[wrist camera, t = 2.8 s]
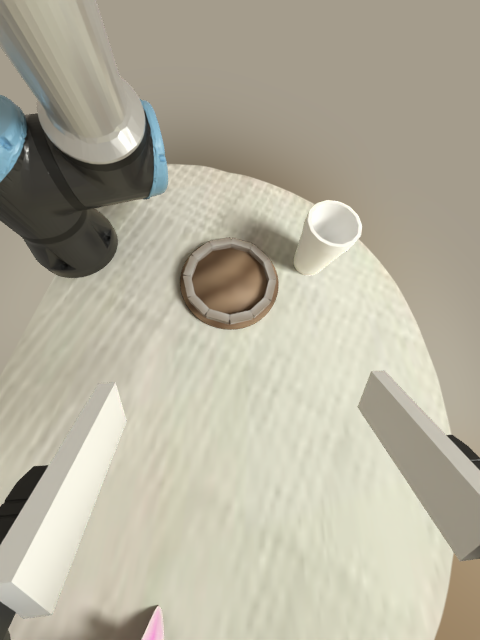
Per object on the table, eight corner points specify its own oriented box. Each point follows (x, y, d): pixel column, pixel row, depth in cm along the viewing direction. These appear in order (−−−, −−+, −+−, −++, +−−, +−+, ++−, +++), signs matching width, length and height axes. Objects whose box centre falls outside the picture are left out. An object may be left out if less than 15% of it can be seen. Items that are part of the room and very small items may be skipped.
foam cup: (291, 239, 53) (313, 193, 41) (330, 250, 53) (364, 208, 41) (282, 275, 50) (303, 238, 38) (324, 287, 51) (358, 254, 38)
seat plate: (160, 279, 48) (157, 274, 45) (231, 225, 53) (231, 217, 51) (228, 350, 45) (229, 348, 42) (296, 285, 50) (300, 280, 48)
